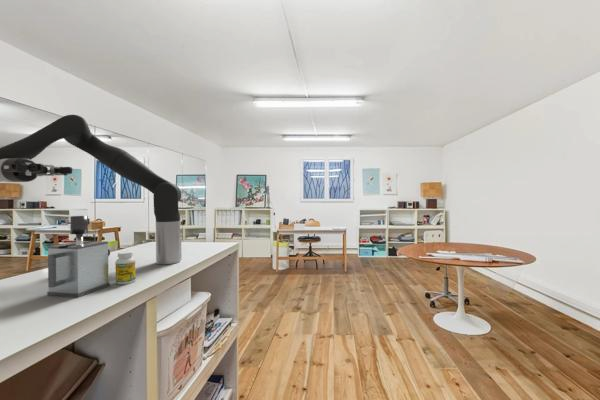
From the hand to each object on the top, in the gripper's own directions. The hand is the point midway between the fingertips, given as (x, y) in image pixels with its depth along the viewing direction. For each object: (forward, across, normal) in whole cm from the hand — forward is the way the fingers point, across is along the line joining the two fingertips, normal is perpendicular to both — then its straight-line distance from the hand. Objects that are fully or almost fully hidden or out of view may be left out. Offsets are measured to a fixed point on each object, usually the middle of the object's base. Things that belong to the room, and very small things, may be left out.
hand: (57, 168), depth 84 cm
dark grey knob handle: (+11, -3, +32) cm, 34 cm away
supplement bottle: (+18, +6, +36) cm, 41 cm away
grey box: (+11, -5, +36) cm, 38 cm away
